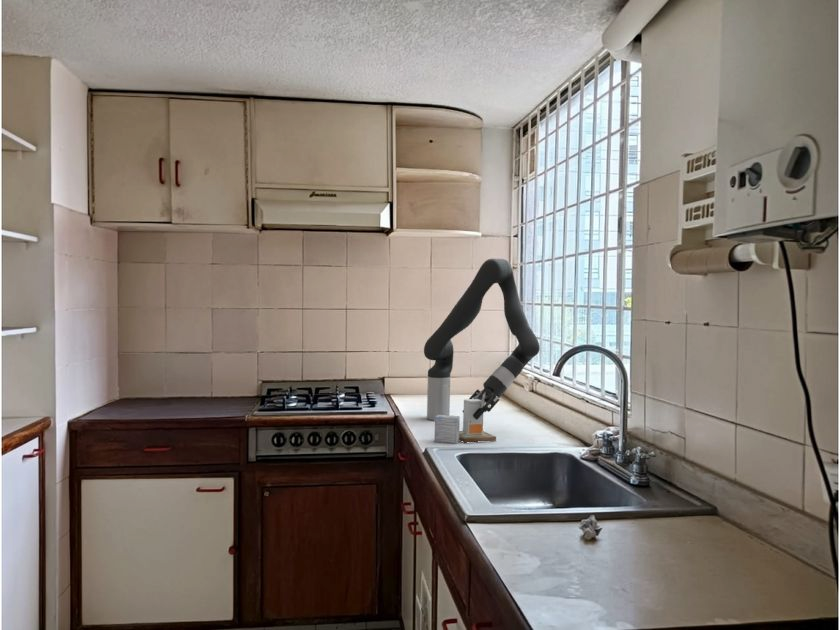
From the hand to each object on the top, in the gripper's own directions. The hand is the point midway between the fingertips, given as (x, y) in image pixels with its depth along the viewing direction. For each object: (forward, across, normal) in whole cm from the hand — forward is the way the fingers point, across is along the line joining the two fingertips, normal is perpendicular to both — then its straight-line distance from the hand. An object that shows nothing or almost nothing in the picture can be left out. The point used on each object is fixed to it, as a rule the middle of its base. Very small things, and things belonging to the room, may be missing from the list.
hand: (469, 415), depth 215 cm
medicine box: (+12, +2, -1) cm, 13 cm away
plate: (+5, 0, +7) cm, 8 cm away
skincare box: (+4, 0, +6) cm, 7 cm away
